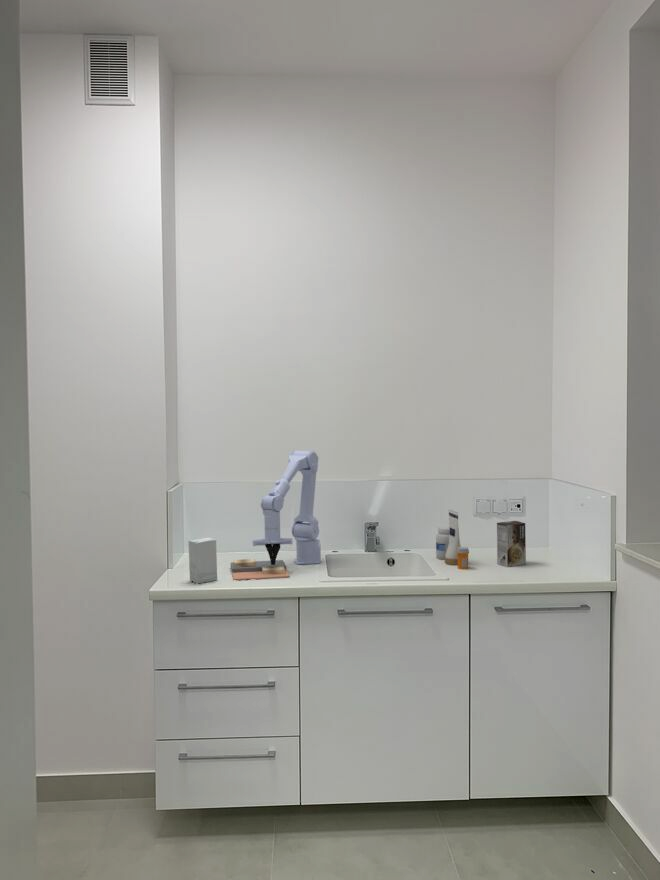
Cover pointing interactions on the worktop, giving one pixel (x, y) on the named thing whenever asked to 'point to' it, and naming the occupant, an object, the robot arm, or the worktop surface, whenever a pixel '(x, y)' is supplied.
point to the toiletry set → (451, 544)
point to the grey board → (257, 566)
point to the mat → (257, 575)
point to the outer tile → (245, 563)
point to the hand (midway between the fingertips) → (273, 564)
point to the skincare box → (202, 560)
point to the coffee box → (511, 543)
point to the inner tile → (273, 570)
